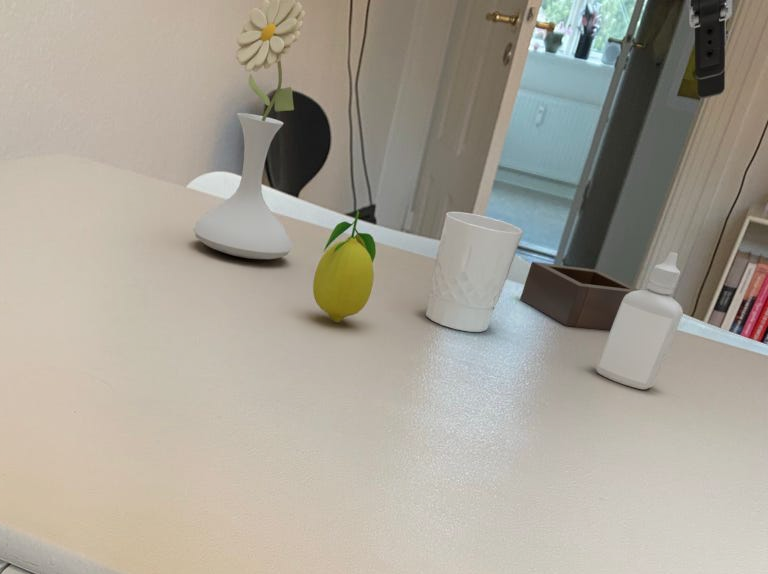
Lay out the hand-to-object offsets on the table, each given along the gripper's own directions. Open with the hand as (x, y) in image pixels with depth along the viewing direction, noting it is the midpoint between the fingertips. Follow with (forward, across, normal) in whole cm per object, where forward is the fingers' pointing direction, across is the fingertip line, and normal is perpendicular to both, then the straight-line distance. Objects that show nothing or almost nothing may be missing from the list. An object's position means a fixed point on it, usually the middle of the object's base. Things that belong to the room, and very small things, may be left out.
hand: (710, 86), depth 78 cm
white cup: (+16, +3, +25) cm, 30 cm away
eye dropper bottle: (+24, +1, +8) cm, 25 cm away
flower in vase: (+5, +3, +49) cm, 49 cm away
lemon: (+15, -11, +33) cm, 38 cm away
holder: (+17, +24, +15) cm, 33 cm away
